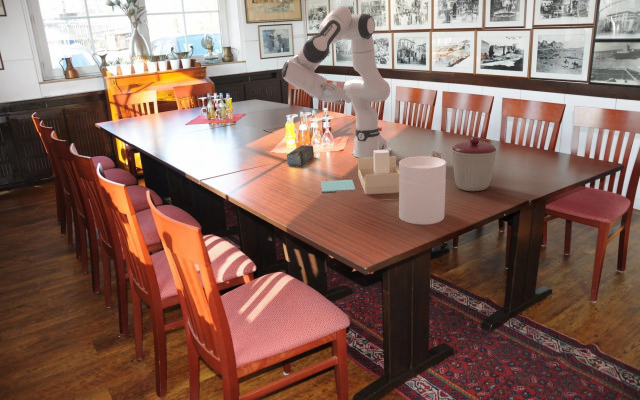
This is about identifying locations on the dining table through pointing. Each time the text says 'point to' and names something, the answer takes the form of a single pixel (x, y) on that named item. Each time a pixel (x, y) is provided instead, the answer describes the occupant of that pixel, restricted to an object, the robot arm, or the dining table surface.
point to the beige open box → (378, 177)
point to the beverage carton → (300, 155)
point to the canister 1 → (422, 189)
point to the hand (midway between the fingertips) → (346, 102)
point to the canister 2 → (473, 164)
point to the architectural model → (436, 154)
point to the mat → (337, 185)
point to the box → (381, 161)
